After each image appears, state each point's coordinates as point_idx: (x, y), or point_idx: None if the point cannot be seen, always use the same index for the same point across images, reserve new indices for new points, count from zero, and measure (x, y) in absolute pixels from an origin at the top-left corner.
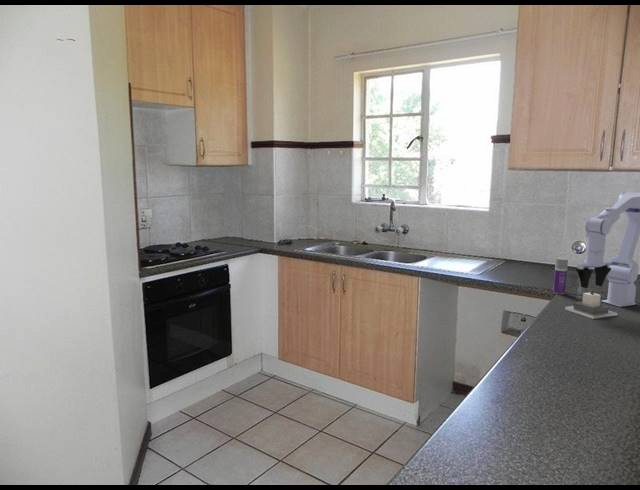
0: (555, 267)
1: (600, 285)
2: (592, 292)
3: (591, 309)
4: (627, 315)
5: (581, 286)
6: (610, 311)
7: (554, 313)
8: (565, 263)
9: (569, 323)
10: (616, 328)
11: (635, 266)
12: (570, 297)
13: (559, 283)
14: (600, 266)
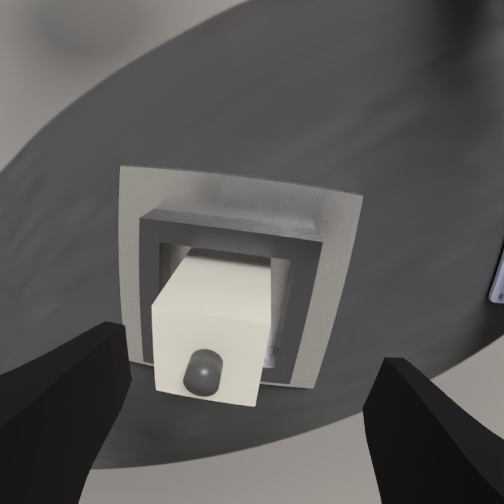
0: None
1: (366, 411)
2: (192, 382)
3: (145, 349)
4: (362, 392)
5: (101, 328)
6: (308, 363)
7: (25, 199)
8: None
9: (6, 321)
10: (128, 433)
11: None
12: (453, 15)
13: None
14: None
